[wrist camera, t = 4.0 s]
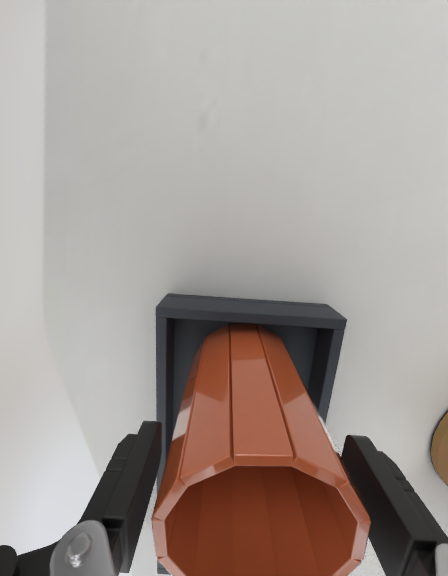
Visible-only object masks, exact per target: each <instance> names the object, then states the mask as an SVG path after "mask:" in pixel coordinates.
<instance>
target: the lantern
mask: <svg viewBox="0 0 448 576" xmlns="http://www.w3.org/2000/svg"><path fill="white" fill-rule="evenodd" d="M430 454H431V458H432V462H433V466H434V469H435V470H436V472H437V473H438V475H439V477H440V478H441V479H442V480H443V481H444V482H445V483H446V485H447V486H448V412H447V413H446V415H445V416H444V417H443V419H442V420H441V421H440V423H439V425H438V427H437V429H436V431H435V433H434V435H433V440H432V447H431V453H430Z"/></svg>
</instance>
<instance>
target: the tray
mask: <svg viewBox="0 0 448 576" xmlns="http://www.w3.org/2000/svg"><path fill="white" fill-rule="evenodd" d="M346 322H347V319H345V318H344V317H343V316H342V315H340V314H339V313H338V312H337V311H335V310H334V309H333V308H331V307H330V306H329V305H327V304H314V303H299V302H284V301H269V300H254V299H239V298H224V297H209V296H194V295H179V294H167V295H166V296H165V297H164V298H163V299H162V301H161V302H160V303H159V304H158V305H157V306H156V399H157V422H161V423H162V454H161V460H160V465H159V469H158V473H157V496H158V492H159V488H160V484H161V480H162V476H163V472H164V469H165V465H166V461H167V457H168V453H169V449H170V445H171V442H172V438H173V434H174V430H175V426H176V422H177V418H178V414H179V411H180V407H181V403H182V399H183V395H184V391H185V387H186V383H187V380H188V376H189V372H190V368H191V364H192V360H193V356H194V354H195V353H196V351H197V349H198V348H199V346H200V344H201V343H202V341H203V339H204V338H205V337H207V335H208V334H210V333H212V332H214V331H215V330H217V329H219V328H221V327H223V326H225V325H227V324H229V325H230V323H254V324H256V325H257V324H259V325H261V326H263V327H265V328H266V329H268V330H270V331H272V332H274V333H276V334H277V335H279V337H281V339H282V340H283V342H284V344H285V346H286V347H287V349H288V351H289V353H290V354H291V356H292V358H293V360H294V362H295V364H296V367H297V369H298V371H299V373H300V375H301V377H302V379H303V381H304V383H305V385H306V387H307V389H308V391H309V393H310V395H311V397H312V399H313V401H314V403H315V405H316V407H317V410H318V412H319V414H320V416H321V418H322V420H323V422H324V424H325V422H326V418H327V413H328V408H329V403H330V398H331V394H332V389H333V384H334V379H335V374H336V369H337V365H338V360H339V355H340V350H341V345H342V340H343V336H344V329H345V327H346ZM157 557H158V556H157ZM157 573H158V574H170V573H169V572H168V571H167V570H166V568H165V567H164V566H163V565H162V564H161V563H160V562H159V561H158V560H157ZM170 575H171V574H170Z"/></svg>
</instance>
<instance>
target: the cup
mask: <svg viewBox="0 0 448 576" xmlns="http://www.w3.org/2000/svg"><path fill="white" fill-rule="evenodd" d="M370 525H371V521H370V516H369V514H368V512H367V510H366V508H365V506H364V504H363V502H362V500H361V498H360V496H359V493H358V491H357V489H356V487H355V485H354V483H353V481H352V479H351V477H350V475H349V473H348V471H347V469H346V467H345V465H344V463H343V461H342V459H341V457H340V455H339V453H338V450H337V448H336V446H335V444H334V442H333V440H332V438H331V436H330V434H329V432H328V430H327V428H326V426H325V424H324V422H323V420H322V418H321V416H320V414H319V412H318V410H317V407H316V405H315V403H314V401H313V399H312V397H311V395H310V393H309V391H308V389H307V387H306V385H305V383H304V381H303V379H302V377H301V375H300V373H299V371H298V369H297V367H296V364H295V362H294V360H293V358H292V356H291V354H290V353H289V351H288V349H287V347H286V346H285V344H284V342H283V340H282V339H281V337H279V335H277V334H276V333H274V332H272V331H270V330H268V329H266V328H265V327H263V326H261V325H259V324H257V325H256V324H254V323H230V325H229V324H227V325H225V326H223V327H221V328H219V329H217V330H215V331H214V332H212V333H210V334H208V335H207V337H205V338H204V339H203V341H202V343H201V344H200V346H199V348H198V349H197V351H196V353H195V354H194V356H193V360H192V364H191V368H190V372H189V376H188V380H187V383H186V387H185V391H184V395H183V399H182V403H181V407H180V411H179V414H178V418H177V422H176V426H175V430H174V434H173V438H172V442H171V445H170V449H169V453H168V457H167V461H166V465H165V469H164V472H163V476H162V480H161V484H160V488H159V492H158V496H157V500H156V503H155V507H154V511H153V515H152V528H153V538H154V547H155V556H158V557H157V560H158V561H159V562H160V563H161V564H162V565H163V566H164V567H165V568H166V570H167V571H168V572H169V573H170V574H171V575H172V576H348V575H349V574H350V573H351V572H352V571H353V570H354V569H355V568H356V567H357V566H359V565H360V564H361V560H363V559H364V555H365V550H366V545H367V540H368V535H369V530H370Z"/></svg>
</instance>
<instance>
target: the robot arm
mask: <svg viewBox="0 0 448 576" xmlns="http://www.w3.org/2000/svg"><path fill="white" fill-rule="evenodd" d="M161 454H162V423H161V422H155V421H143V423H142V425H141V427H140V430H139V432H138V434H128V435H127V436H126V437H125V438H124V439H123V440H122V441H121V442H120V443H119V444H118V446H117V448H116V450H115V452H114V454H113V456H112V459H111V460H110V462H109V464H108V466H107V468H106V471H105V472H104V474H103V476H102V478H101V480H100V482H99V484H98V486H97V488H96V490H95V492H94V494H93V496H92V498H91V500H90V502H89V504H88V506H87V508H86V510H85V512H84V513H83V515H82V517H81V519H80V520H79V522H78V523H77V525H76V526H74V527H73V528H71V529H70V530H69V531H68V532H67V533H66V534H65V535H64V536H63V537H62V538H61V539H60V540H59V541H57V542H55V543H53V544H52V545H49V546H46V547H43V548H40V549H37V550H34V551H31V552H28V553H25V554H21V555H18V556H17V554H16V552H15V549H13V548H12V547H11V546H7V545H1V546H0V576H118V575H119V572H121V573H129V571H130V567H131V564H132V560H133V557H134V553H135V550H136V546H137V543H138V539H139V536H140V532H141V529H142V525H143V522H144V518H145V515H146V511H147V508H148V504H149V501H150V497H151V494H152V490H153V487H154V483H155V480H156V476H157V473H158V469H159V465H160V460H161ZM341 459H342V461H343V463H344V465H345V467H346V469H347V471H348V473H349V475H350V477H351V479H352V481H353V483H354V485H355V487H356V489H357V491H358V493H359V496H360V498H361V500H362V502H363V504H364V506H365V508H366V510H367V512H368V514H369V516H370V521H371V525H370V530H369V535H368V537H369V539H370V541H371V544H372V546H373V548H374V550H375V552H376V555H377V557H378V559H379V561H380V564H381V566H382V568H383V570H384V572H385V575H386V576H448V537H447V536H446V534H445V533H444V531H443V530H442V529H441V527H440V526H439V524H438V523H437V522H436V520H435V519H434V517H433V516H432V514H431V513H430V512H429V510H428V509H427V507H426V506H425V505H424V503H423V502H422V500H421V499H420V497H419V496H418V495H417V493H415V492H414V489H413V488H412V486H411V485H410V483H409V482H408V481H406V478H405V476H404V475H403V473H402V472H401V471H400V469H399V468H398V466H397V465H396V464H395V463H394V462H393V461H392V460H391V459H390V458H389V457H388V456H387V455H386V454H384V453H383V452H381V451H377V449H376V448H375V446H374V445H373V443H372V442H371V440H370V439H369V438H368V437H366V436H355V435H347V436H346V439H345V443H344V448H343V452H342V456H341Z"/></svg>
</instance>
